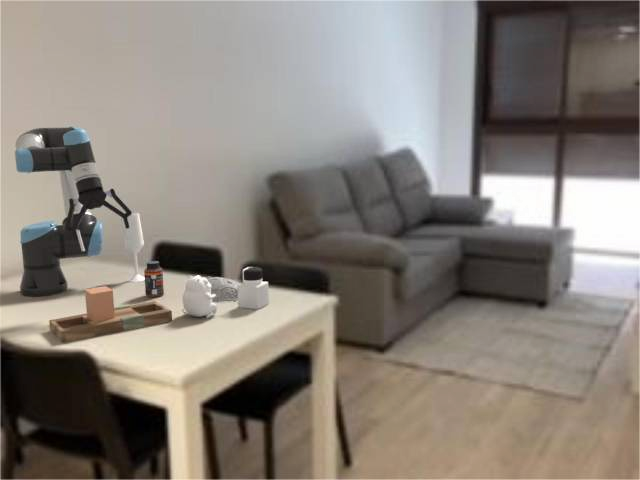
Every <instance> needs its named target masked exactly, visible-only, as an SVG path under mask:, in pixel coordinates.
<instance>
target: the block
mask: <svg viewBox="0 0 640 480" xmlns="http://www.w3.org/2000/svg"><path fill="white" fill-rule="evenodd" d="M84 295H85V307H86V308H85V309H86V314H87V317H88V318H89V319H90V320H92V321H93V322H96V321H102V320H107V319H112V318H115V312H114V307H115V303H114V302H115V300H114V290H113V289H111V288H109V287H108V286H105V285H103V286H98V287H93V288H87V289H84Z"/></svg>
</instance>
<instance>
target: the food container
mask: <svg viewBox="0 0 640 480" xmlns="http://www.w3.org/2000/svg"><path fill="white" fill-rule="evenodd" d="M205 278H206V279H207V280H208V282H209V283H210V284H211V294H215V295H216V296H217V297H214V298H213V299H212V302H217V301H218V302H217V303H224V302H225V301H226V302H229V303H233V302H232V301H238V289H237V286H238V285H239V284H241V283H240V282H238V281H237V280H233V279H229V278H225V277H219V276H214V277H213V276H212V277H211V276H207V277H205Z"/></svg>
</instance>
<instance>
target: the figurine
mask: <svg viewBox="0 0 640 480" xmlns="http://www.w3.org/2000/svg"><path fill="white" fill-rule="evenodd" d="M206 278H207V277H203V276H201V275H199V274H197V275H195V276H193V275H189V279H188V280H187V282H186V283H185V290H184V292H183V294H182V304H183V305H182V307H183V309H181V312H182V314H185V315H190V316H192V317H196V318H197V317H198V318H200V317H204V316H208V315H210V314H211V313H212V315H216V313H217V309H218V306H217V304H216V303H213V301H212V299H213V298H214V297H217V296H216V295H215V294H211V284H210V283H209V282H208V280H207V279H206ZM184 310H185V311H184Z"/></svg>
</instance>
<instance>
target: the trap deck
mask: <svg viewBox="0 0 640 480" xmlns="http://www.w3.org/2000/svg"><path fill="white" fill-rule="evenodd" d="M114 312H115V318H112V319H107V320H102V321H96V322H93V321H92V320H90V319H89V318H88V317H87V313H81V314H77V315H70V316H65V317H60V318H55V319H50V320H49V330H50V332H51V333H52V334H53V335H54V336H55V337H56V338H57V339H58V340H59V341H60V342H61V343H62V344H63V343H64V344H65V343H68V342H73V341H78V340H84V339H89V338H93V337H94V338H95V337H98V336H102V335H109V334H113V333H119V332H123V331H129V330H135V329H139V328H144V327H147V326H153V325H159V324H162V323H168V322H172V321H173V311H172V310H171V309H170V308H168V307H166V306H164V305H163V304H161V303H159V302H157V301H154V300H153V301H148V302H143V303H137V304H131V305H128V304H125V305H122V306H121V305H120V306H114Z"/></svg>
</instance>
